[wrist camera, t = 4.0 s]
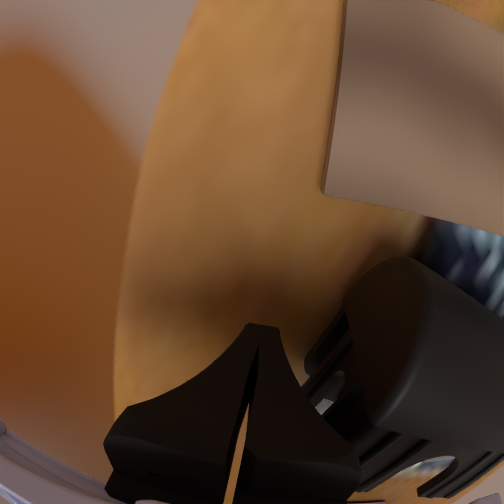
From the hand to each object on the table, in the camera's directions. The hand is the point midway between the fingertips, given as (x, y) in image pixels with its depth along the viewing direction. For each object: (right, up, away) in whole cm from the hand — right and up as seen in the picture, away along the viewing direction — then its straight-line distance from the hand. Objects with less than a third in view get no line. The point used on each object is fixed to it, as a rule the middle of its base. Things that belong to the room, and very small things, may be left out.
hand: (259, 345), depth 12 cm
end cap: (+7, 0, +1) cm, 7 cm away
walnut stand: (+7, +9, -3) cm, 11 cm away
